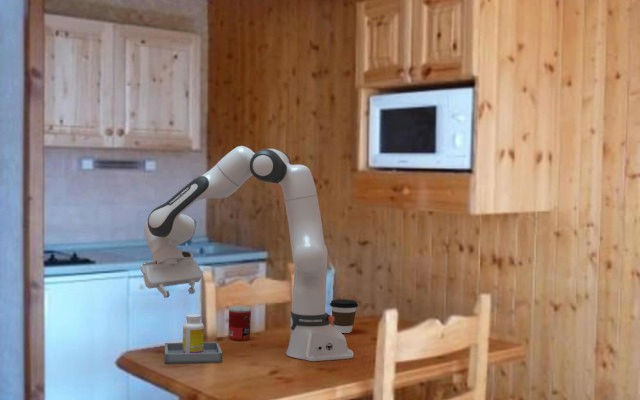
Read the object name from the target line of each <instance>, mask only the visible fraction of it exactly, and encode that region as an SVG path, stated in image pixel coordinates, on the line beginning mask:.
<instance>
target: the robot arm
mask: <svg viewBox="0 0 640 400" xmlns="http://www.w3.org/2000/svg"><path fill="white" fill-rule="evenodd" d="M252 176H253V177H255V179H256V180H258V181H260V182H264V183H270V184H271V183H272V184H279V185H280V187H281V189H282V192H283V201H284V204H285V205H284V206H285V211H286V216H287V217H286V218H287V223H288V232H289V240H290V249H291V255H292V261H293V264H294V270H293V271H294V273H293V286H292V309H291V312H290V323H289V324H290V326H289V327H290V336H289V342H288V346H287V350H286V351H285V354H286V356H289V357H291V358H293V359H294V358H296V359H299V360H306V361H310V362H318V361H319V362H320V361H332V360H345V359H353V358H354V356H355V355H354V354H355V353H354V351H353V350H352V349H350V348H348V343H347V338H346V337H345V334H342V333H341V332H339V331H338V330H337V329H336V328H335V327H334V325H333V324H331V323H333V322H334V317H333V316H332V314H328V313H327V312H326V303H327V301H326V298H327V296H326V295H327V275H328V274H327V273H328V249H327V248H328V247H327V245H326V244H325V238H324V237H325V236H324V233H323V232H324V230H323V224H322V216H321V210H320V205H319V197H318V193H317V188H316V184H315V180H314V177H313V175H312V171H311V170H310V168H309V167H308V166H306V165H304V164H292V161H291V159H290V157H289V156H288V154H287V153H285V152H284V151H282V150H278V149H275V148H263V149H260V150H257V151H256V152H254V151H253V150H252V149H251V148H249V147H247V146H244V145H240V146H239V145H238V146H236V147H235V148H233V149H232V150H231V151H229V152H228V153H226V155H224V157H222V158H221V159H220V160H219V161H218V162H217V163H216V164H215V165H214V166H213V167H212V168H210V169H209V170H208V171H207V172H205V173H204V174H202V175H201V176H200V175H199V176H198V177H196V178H194V179H192V180H191V181H190V182H188V183H187V184H186V185H185V186H184V187H182V189H180V190H179V191H178V192H177V193H175V194H174V195H173V196H172V197H170V199H168V200H167V201H166V202H164V203H162V204H160V205H159V206H157V207H155V208H154V209H152V211H151V212H150V213H149V215H148V218H147V221H146V223H145V224H144V236H145V239H146V243H147V246H148V248H149V250H150V251H151V258H152V260H153V261H150V262H143V263H142V264H141V265H140V271H141V273H142V275H143V281H144V285H145V287H146V288H147V289H155V288H156V289H157V291H158V292H160V293H161V294H162V295H163V298H169V297H170V296H171V294H170V291H169V290H166V289H165V287H172V286H179V285H184V284H188V285H189V289H188V294H189V295H192V294H195V293H196V290H195V284H196V283H199V282H200V281H201V280H202V277H203V272H202V269H201V267H200V264H199V263H198V261H197V260H196V259H194V254H193V252H191V251H185V250H180V249H178V246H180V245H182V244H184V243H186V242H188V241H190V240H191V239H192V238H193V237H194V235H195V233H196V232H195V231H196V222H195V219H193V217H191V216H189V215H187V214H184V212H185V211H186V210H188V208H190V207H191V206H192V205H193V204H195V203H196V202H198V201H200V200H205V199H225V198H228V197H230V196H231V195H233V194H234V193H235V192H237V191H238V190H239V189H240V187H241V186H243V185H244V183H245V182H247V180H248V179H250V178H251V177H252Z"/></svg>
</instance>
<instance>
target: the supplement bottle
mask: <svg viewBox="0 0 640 400" xmlns="http://www.w3.org/2000/svg"><path fill="white" fill-rule="evenodd" d="M185 317H186V318H185V319H186V322H185V323H184V324H183V325H182V343H183V353H203V343H204V337H205V334H204V333H205V332H204V329H205V327H204V326H205V325H204V324H203V322H201V320H202V315H201V314H198V313H196V314H195V313H193V314H191V313H190V314H186V316H185Z"/></svg>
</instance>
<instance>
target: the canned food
mask: <svg viewBox="0 0 640 400" xmlns="http://www.w3.org/2000/svg"><path fill="white" fill-rule="evenodd" d="M251 311H252V309H251V308H250V307H247V306H246V307H245V306H233V307H229V308H228V330H227V331H228V340H230V341H234V342H235V341H236V342H245V341H249V340H250V338H251V323H252V322H251V320H252V312H251Z"/></svg>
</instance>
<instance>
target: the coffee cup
mask: <svg viewBox="0 0 640 400" xmlns="http://www.w3.org/2000/svg"><path fill="white" fill-rule="evenodd" d="M329 306H330V307H331V315H332V316H333V317H334V322H332V325H333V327H335V328H336V329H337V330H338V331H339V332H341V333H350V332H351V333H352V330H353V326H354V324H355V317H356V312H357V308H358V307H359V304H358V302H357V301H356V300H353V299H345V298H344V299H342V298H339V299H332V300H331V301H330V303H329ZM351 333H350V334H351Z"/></svg>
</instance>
